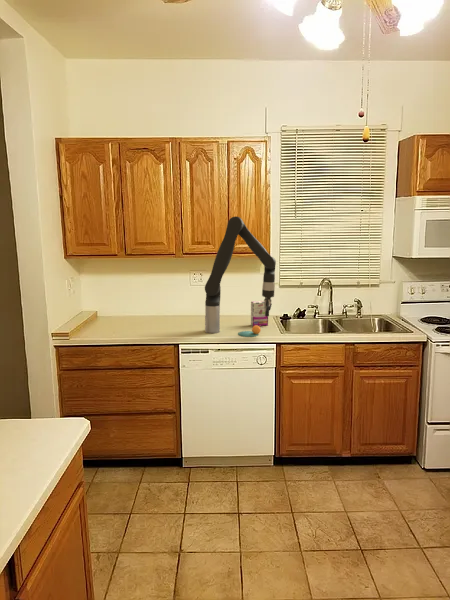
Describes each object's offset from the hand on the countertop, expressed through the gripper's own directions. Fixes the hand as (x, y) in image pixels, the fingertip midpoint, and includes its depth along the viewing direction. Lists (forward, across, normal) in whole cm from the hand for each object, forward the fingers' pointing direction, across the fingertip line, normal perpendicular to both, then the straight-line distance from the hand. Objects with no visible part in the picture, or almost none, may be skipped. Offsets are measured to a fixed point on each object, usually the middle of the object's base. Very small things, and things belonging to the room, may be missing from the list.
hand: (266, 316), depth 282 cm
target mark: (+12, 0, -11) cm, 16 cm away
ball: (+9, 0, -6) cm, 11 cm away
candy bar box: (+12, -22, 0) cm, 25 cm away
